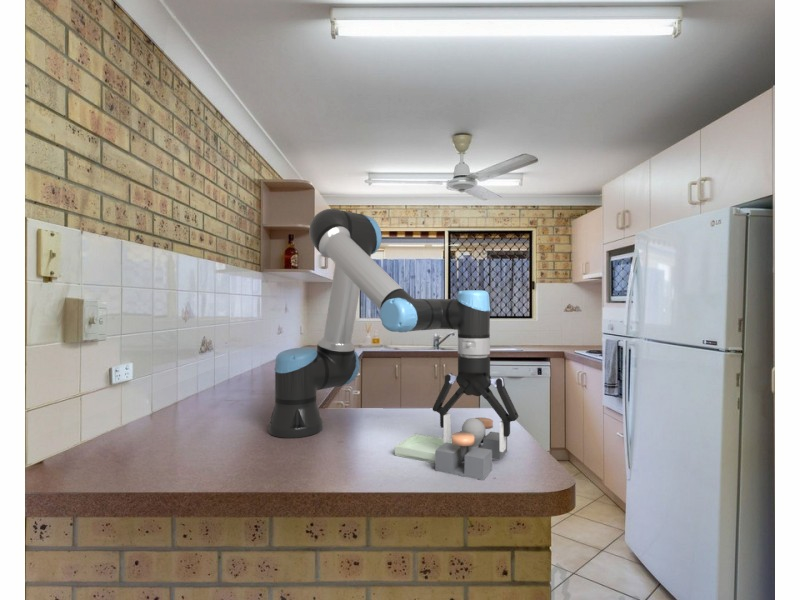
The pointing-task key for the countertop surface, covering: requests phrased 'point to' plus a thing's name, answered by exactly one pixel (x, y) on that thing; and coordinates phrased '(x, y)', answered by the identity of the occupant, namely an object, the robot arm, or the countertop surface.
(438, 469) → the socket housing
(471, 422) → the light bulb
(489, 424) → the orange mushroom knob
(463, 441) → the plunger
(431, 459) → the tray
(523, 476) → the countertop surface
